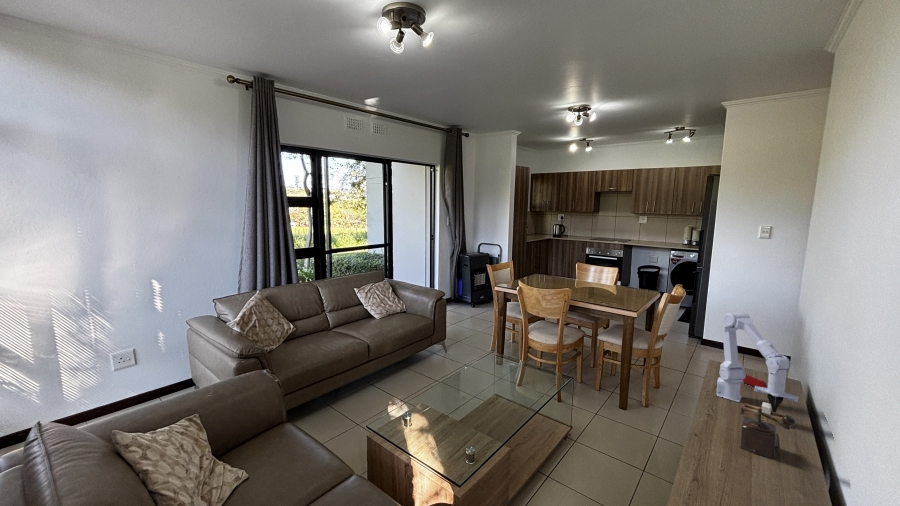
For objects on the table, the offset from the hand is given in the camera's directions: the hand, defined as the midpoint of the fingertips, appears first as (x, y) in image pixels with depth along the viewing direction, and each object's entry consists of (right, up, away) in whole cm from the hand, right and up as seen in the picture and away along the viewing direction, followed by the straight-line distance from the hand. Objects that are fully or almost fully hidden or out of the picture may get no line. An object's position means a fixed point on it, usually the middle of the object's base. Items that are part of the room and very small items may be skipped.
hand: (774, 411), depth 163 cm
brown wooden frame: (-2, -4, +3) cm, 6 cm away
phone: (-15, -7, -12) cm, 21 cm away
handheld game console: (+19, -2, +31) cm, 36 cm away
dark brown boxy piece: (-22, -7, -20) cm, 30 cm away
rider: (-2, -3, +2) cm, 4 cm away
